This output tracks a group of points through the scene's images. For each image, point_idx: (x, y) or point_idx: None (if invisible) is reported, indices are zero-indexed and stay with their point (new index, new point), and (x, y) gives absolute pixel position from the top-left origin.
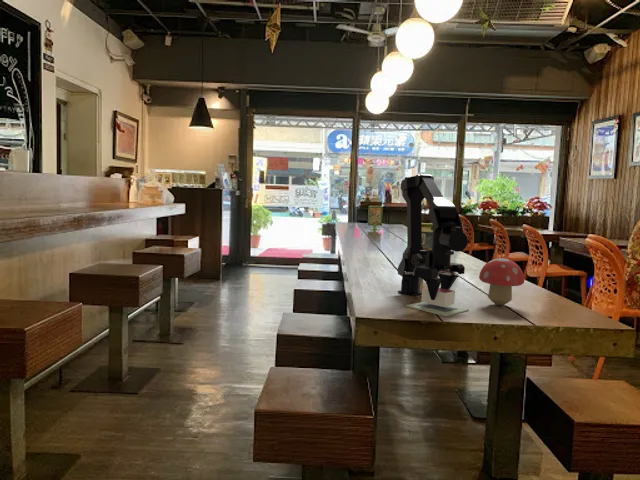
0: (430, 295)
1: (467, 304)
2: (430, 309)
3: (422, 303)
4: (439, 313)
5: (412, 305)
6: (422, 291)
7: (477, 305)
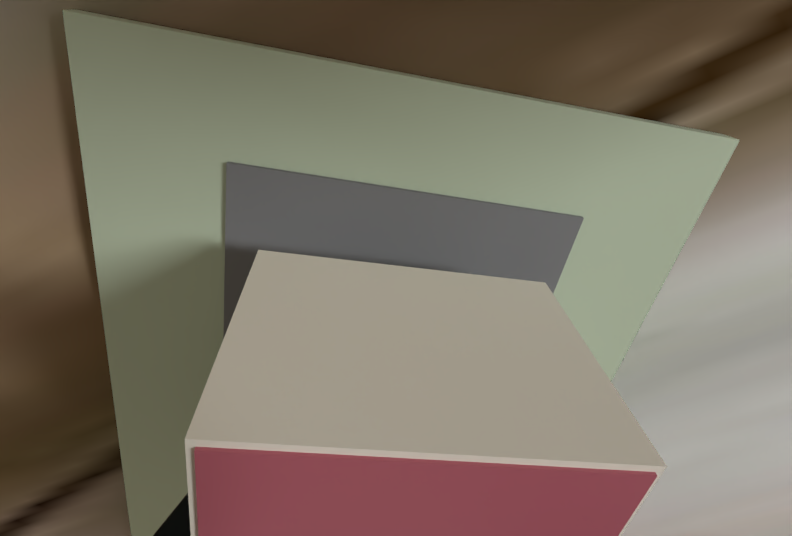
0: (179, 515)
1: (774, 466)
2: (188, 382)
3: (431, 166)
4: (126, 492)
5: (157, 110)
6: (207, 386)
7: (770, 518)
